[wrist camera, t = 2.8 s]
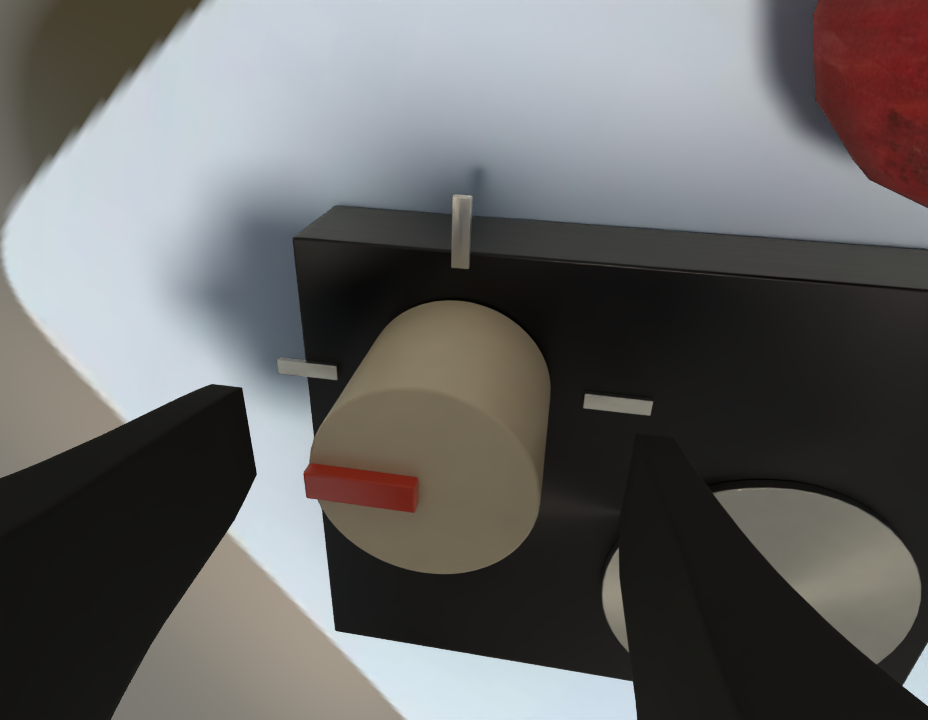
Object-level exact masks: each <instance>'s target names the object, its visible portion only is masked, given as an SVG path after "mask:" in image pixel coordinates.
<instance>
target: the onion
mask: <svg viewBox="0 0 928 720" xmlns="http://www.w3.org/2000/svg"><path fill="white" fill-rule="evenodd" d="M813 35H814V74H815V100H816V101H817V103H818V105H819V106H820V108H821V109H822V111H823V113H824V114H825V116H826V117H827V119H828V121H829V122H830V124H831V125H832V127H833V129H834V130H835V132H836V133H837V135H838V137H839V138H840V140H841V141H842V143H843V145H844V146H845V148H846V149H847V151H848V153H849V154H850V156H851V157H852V159H853V160H854V162H855V163H856V164H857V165H858V166H859V168H860V169H861V170H862V171H863V173H864V174H865V175H866V176H867V178H868V179H869V180H871V181H873V182H875V183H877V184H879V185H881V186H883V187H885V188H887V189H890V190H892V191H894V192H896V193H898V194H900V195H902V196H904V197H906V198H908V199H910V200H912V201H914V202H916V203H919V204H921V205H923V206H925V207H927V208H928V0H818V3H817V6H816V9H815V12H814V15H813Z"/></svg>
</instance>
